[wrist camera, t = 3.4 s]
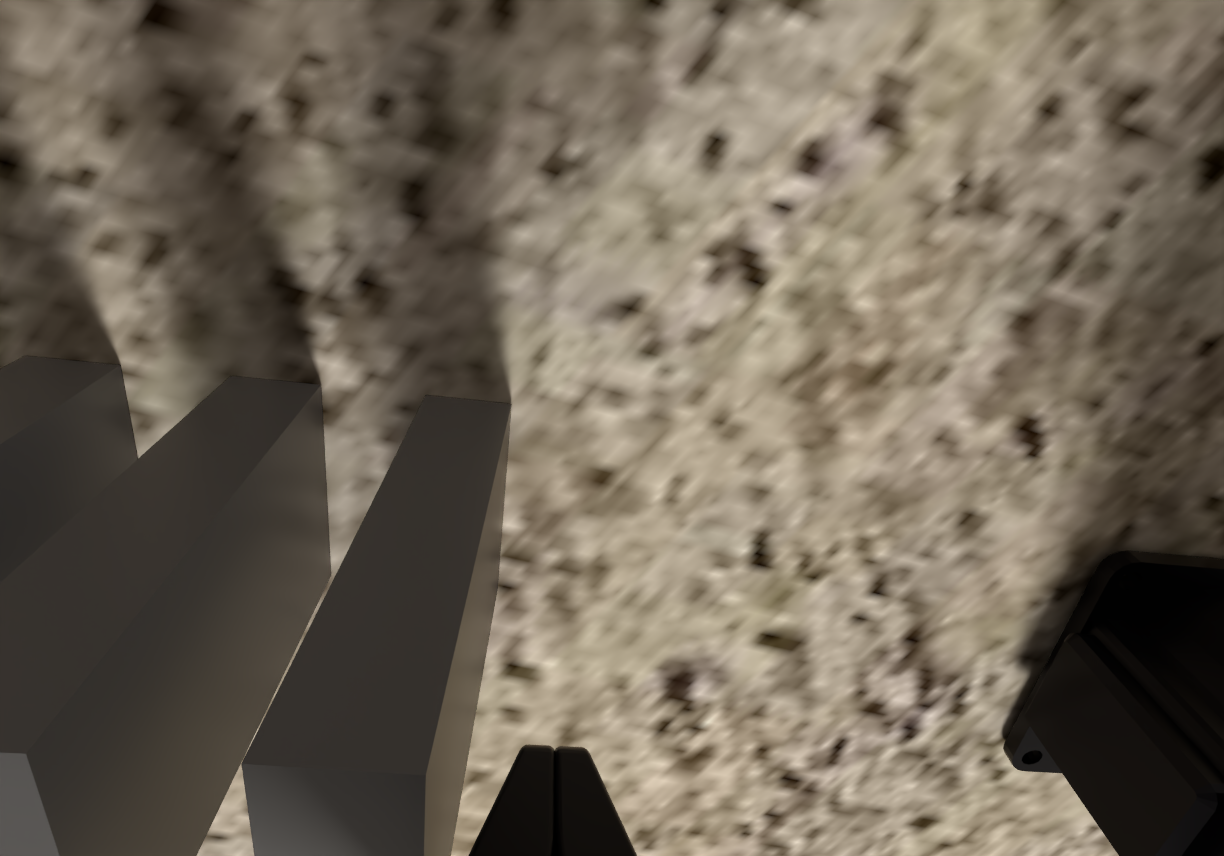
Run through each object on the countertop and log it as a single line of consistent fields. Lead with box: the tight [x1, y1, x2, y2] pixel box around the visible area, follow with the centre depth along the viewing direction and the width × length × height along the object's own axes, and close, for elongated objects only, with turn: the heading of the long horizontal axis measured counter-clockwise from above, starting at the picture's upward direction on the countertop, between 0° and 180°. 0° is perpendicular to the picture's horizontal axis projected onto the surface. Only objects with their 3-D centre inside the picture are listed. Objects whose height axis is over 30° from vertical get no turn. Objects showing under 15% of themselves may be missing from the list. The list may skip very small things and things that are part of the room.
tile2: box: [0, 376, 331, 856], centre depth 11 cm, size 2×4×8 cm, turn 172°
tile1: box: [242, 395, 512, 856], centre depth 11 cm, size 2×4×8 cm, turn 172°
